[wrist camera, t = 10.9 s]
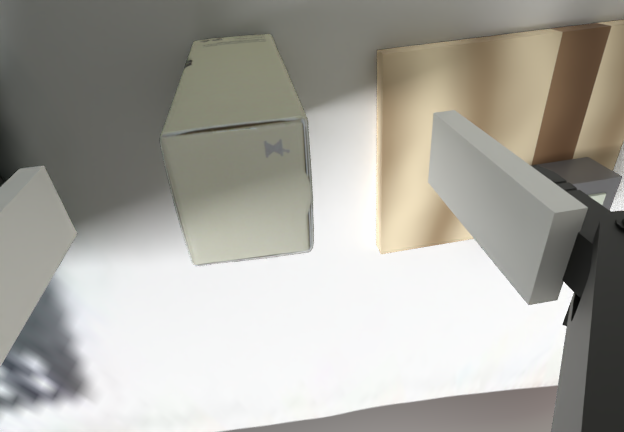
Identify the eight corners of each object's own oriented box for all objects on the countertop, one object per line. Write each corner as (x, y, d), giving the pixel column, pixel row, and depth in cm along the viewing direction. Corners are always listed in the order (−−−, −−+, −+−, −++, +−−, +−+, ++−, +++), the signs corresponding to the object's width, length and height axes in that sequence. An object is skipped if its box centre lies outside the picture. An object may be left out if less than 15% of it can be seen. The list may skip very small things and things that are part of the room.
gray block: (493, 229, 31) (518, 255, 28) (506, 169, 28) (534, 192, 25) (569, 217, 31) (600, 241, 28) (588, 156, 28) (624, 178, 26)
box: (191, 38, 22) (147, 122, 11) (274, 32, 22) (310, 107, 11) (209, 133, 25) (188, 273, 14) (282, 126, 25) (317, 256, 14)
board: (376, 244, 31) (380, 254, 30) (377, 49, 23) (383, 54, 22) (584, 210, 33) (595, 218, 32) (649, 16, 25) (667, 19, 24)
